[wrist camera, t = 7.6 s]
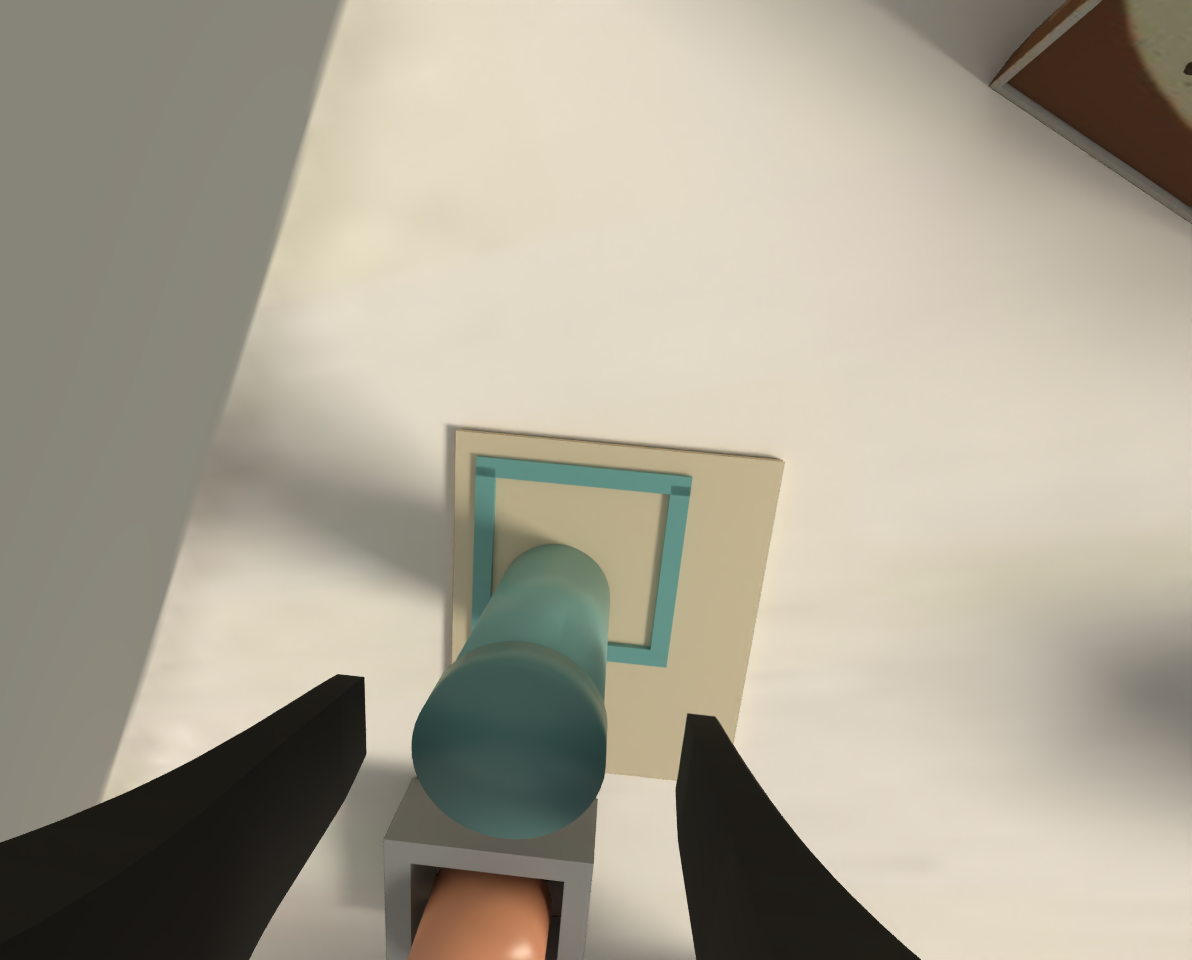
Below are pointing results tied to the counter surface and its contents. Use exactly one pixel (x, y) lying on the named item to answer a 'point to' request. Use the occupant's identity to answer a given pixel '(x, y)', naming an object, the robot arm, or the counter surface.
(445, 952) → the button
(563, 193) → the counter surface
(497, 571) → the card sheet
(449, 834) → the button housing
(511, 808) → the teal rounded cylinder
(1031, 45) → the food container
